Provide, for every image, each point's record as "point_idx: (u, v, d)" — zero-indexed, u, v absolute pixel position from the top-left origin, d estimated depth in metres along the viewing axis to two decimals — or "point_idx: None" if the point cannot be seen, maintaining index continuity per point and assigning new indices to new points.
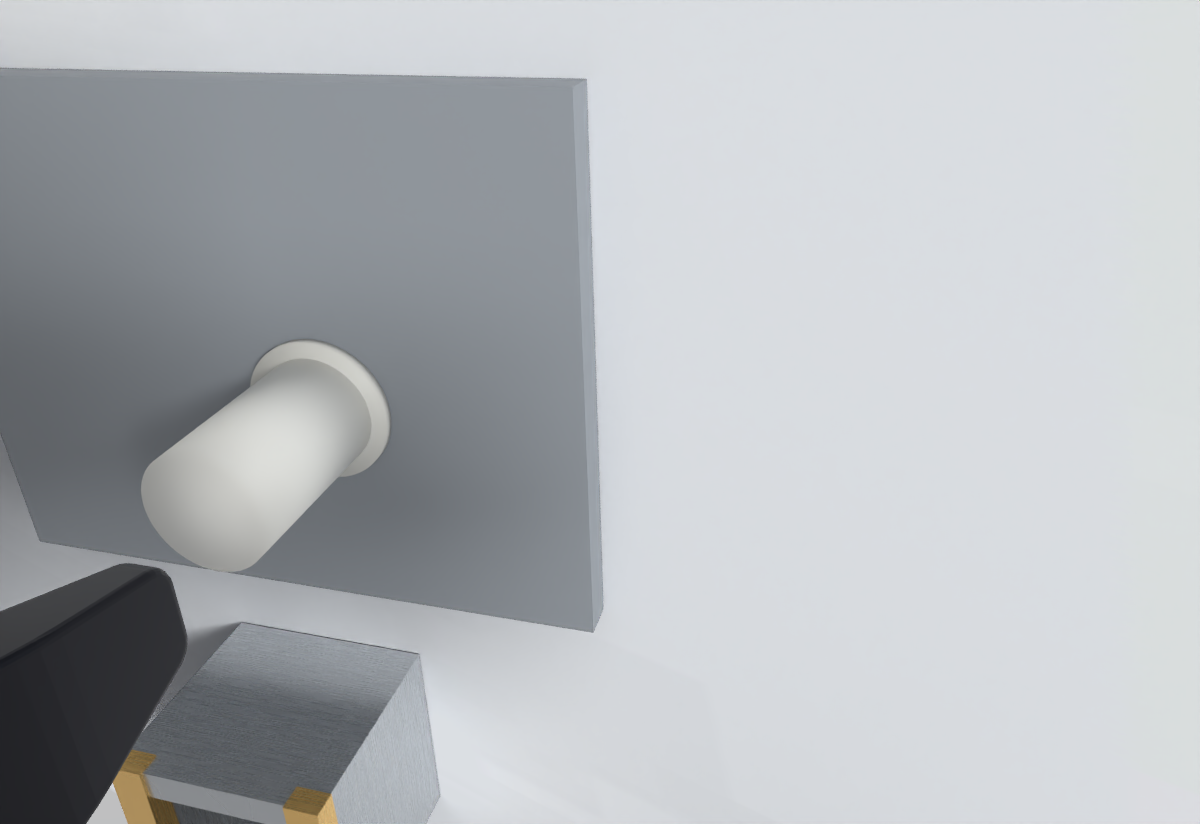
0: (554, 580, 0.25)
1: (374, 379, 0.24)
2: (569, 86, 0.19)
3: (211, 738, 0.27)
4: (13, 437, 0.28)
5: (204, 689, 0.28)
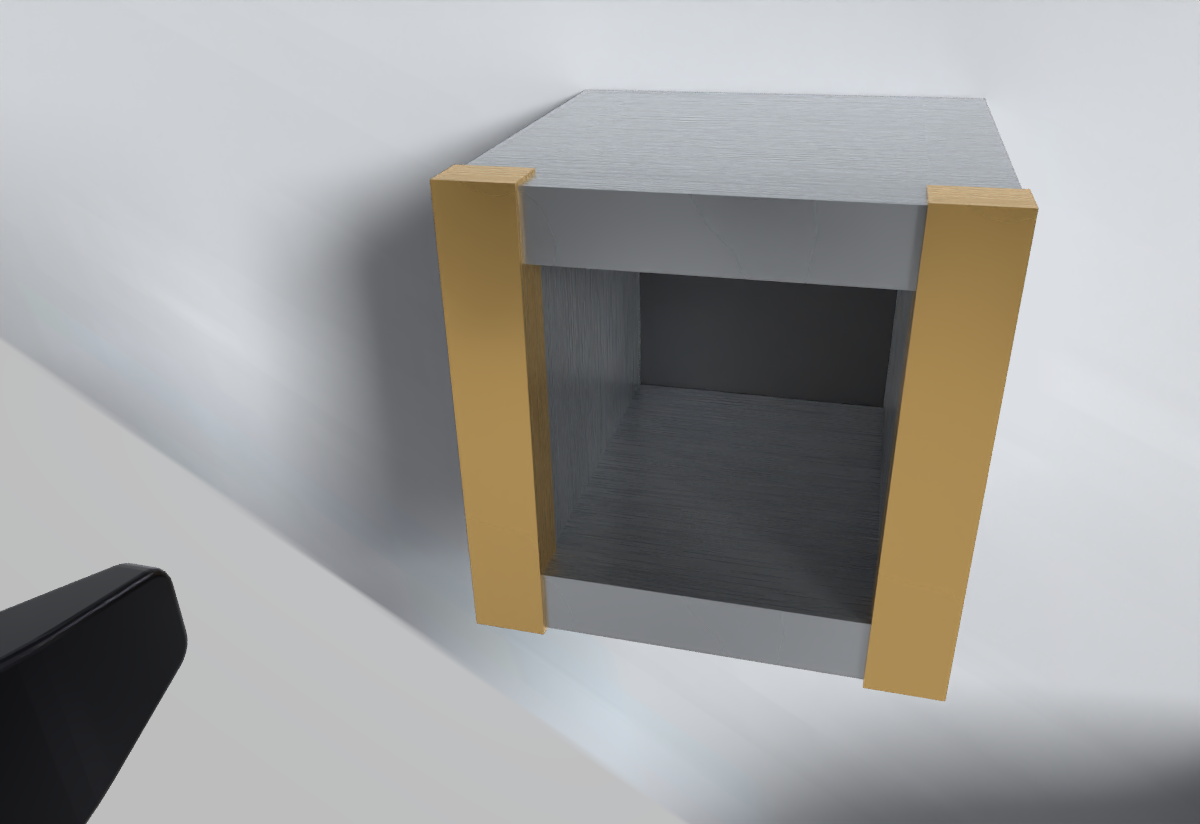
0: None
1: None
2: None
3: (645, 157, 0.12)
4: None
5: (576, 127, 0.13)
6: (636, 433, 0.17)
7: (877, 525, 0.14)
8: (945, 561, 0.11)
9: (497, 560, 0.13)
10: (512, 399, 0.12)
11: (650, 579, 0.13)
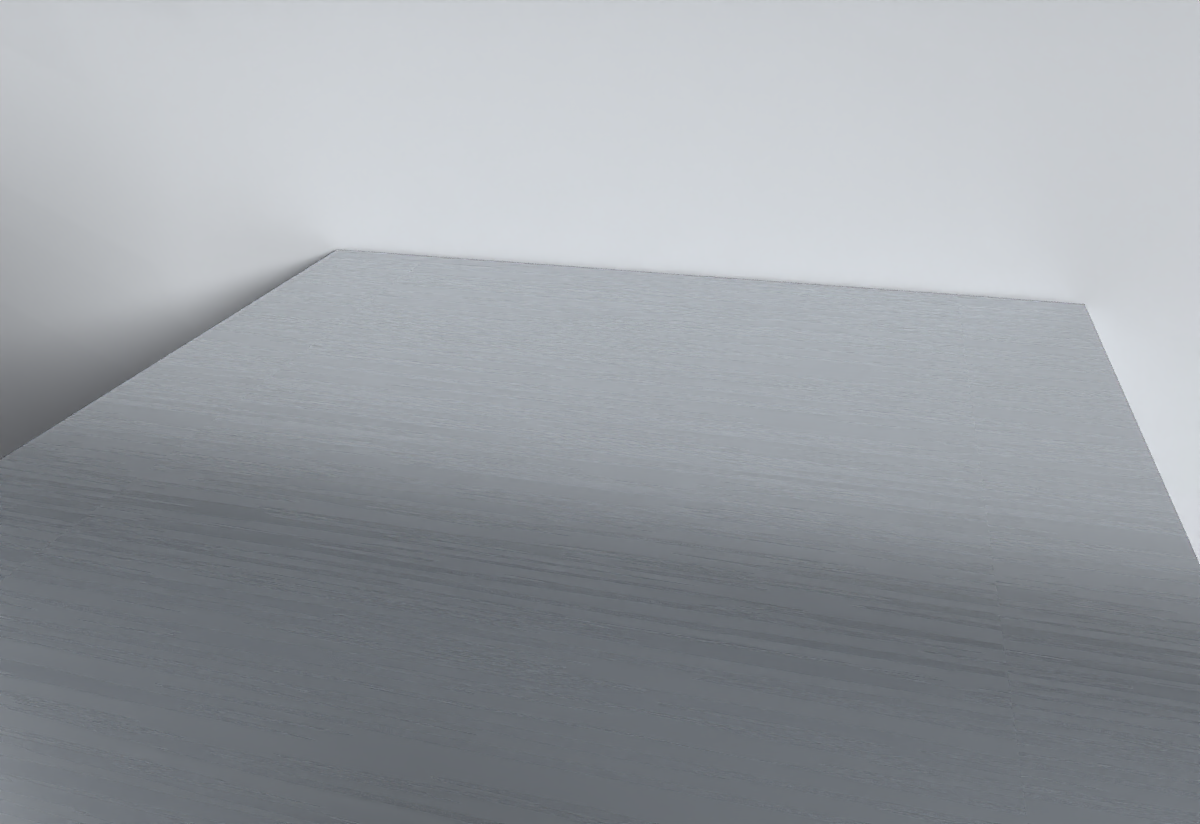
0: None
1: None
2: None
3: (248, 582, 0.04)
4: None
5: (206, 399, 0.06)
6: None
7: None
8: None
9: None
10: None
11: None
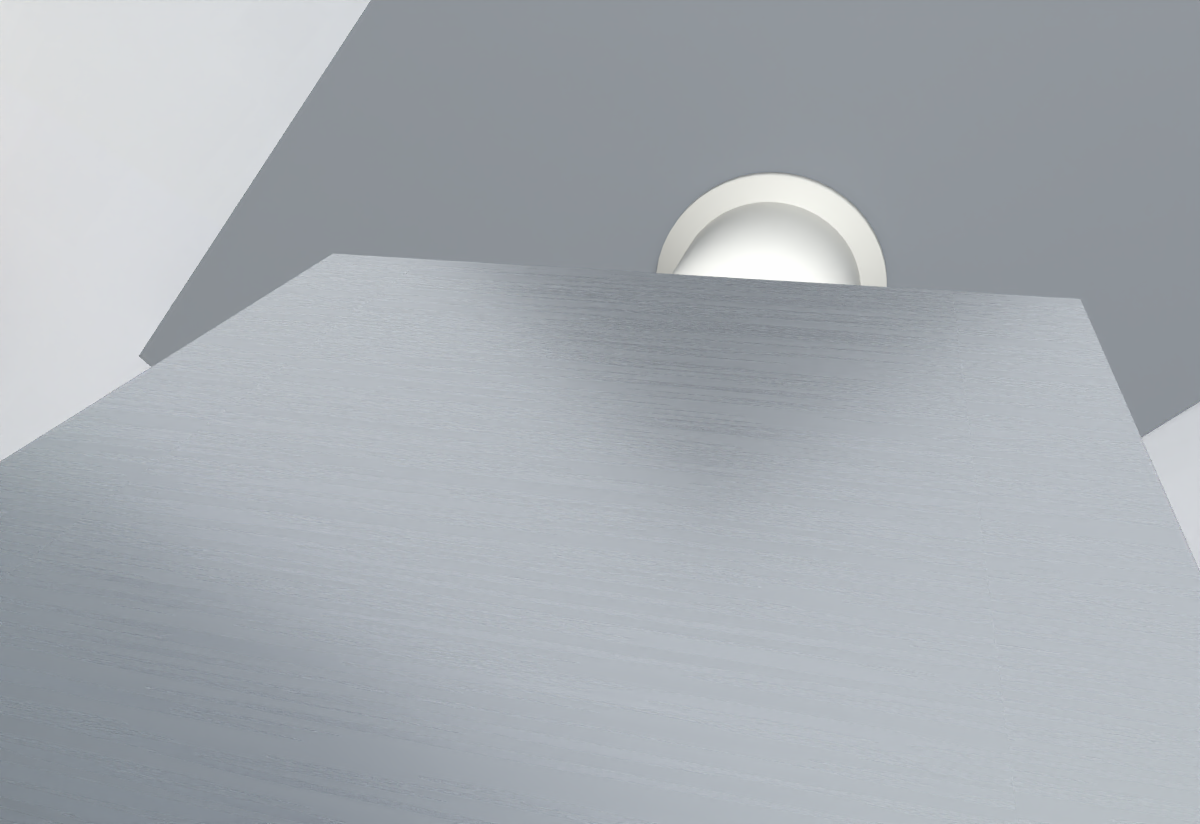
0: None
1: (799, 176, 0.15)
2: None
3: (238, 585, 0.04)
4: None
5: (201, 405, 0.06)
6: None
7: None
8: None
9: None
10: None
11: None
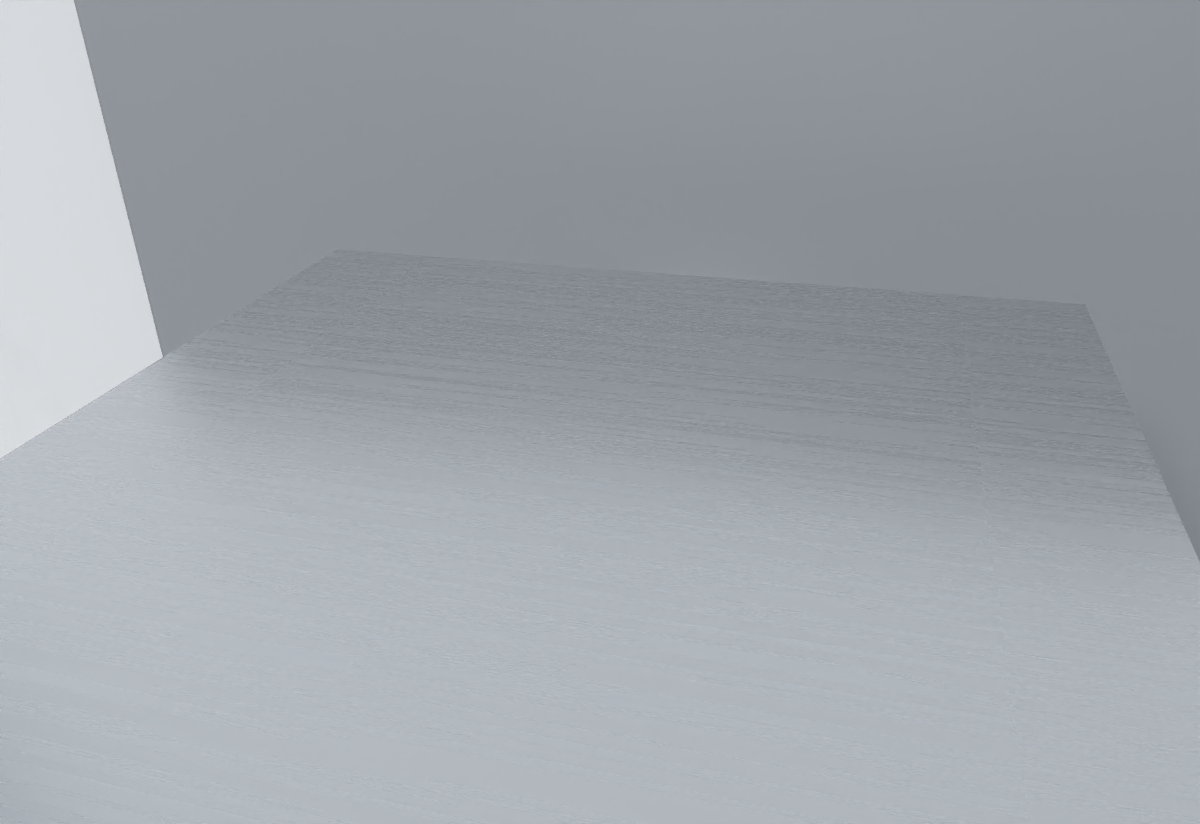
0: None
1: None
2: None
3: (245, 584, 0.04)
4: None
5: (203, 400, 0.06)
6: None
7: None
8: None
9: None
10: None
11: None
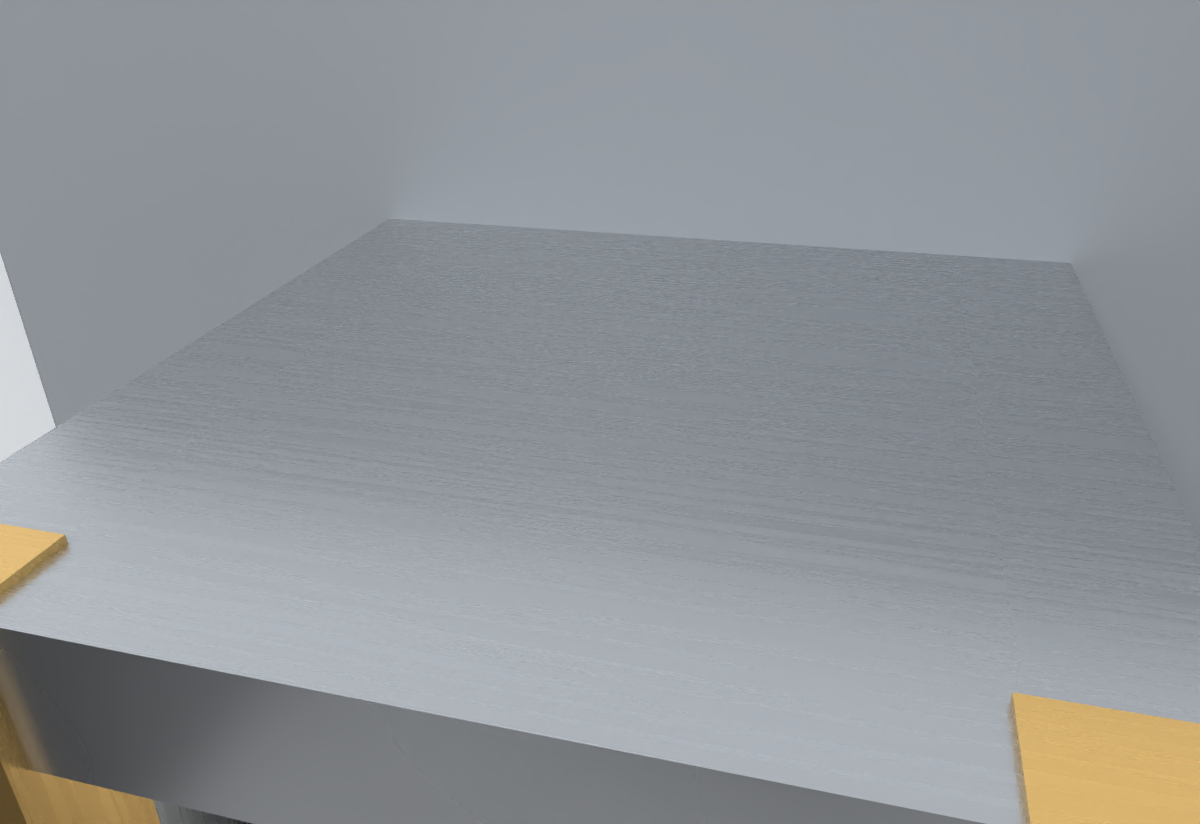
0: None
1: None
2: None
3: (357, 474, 0.05)
4: None
5: (293, 340, 0.07)
6: None
7: None
8: None
9: None
10: None
11: None
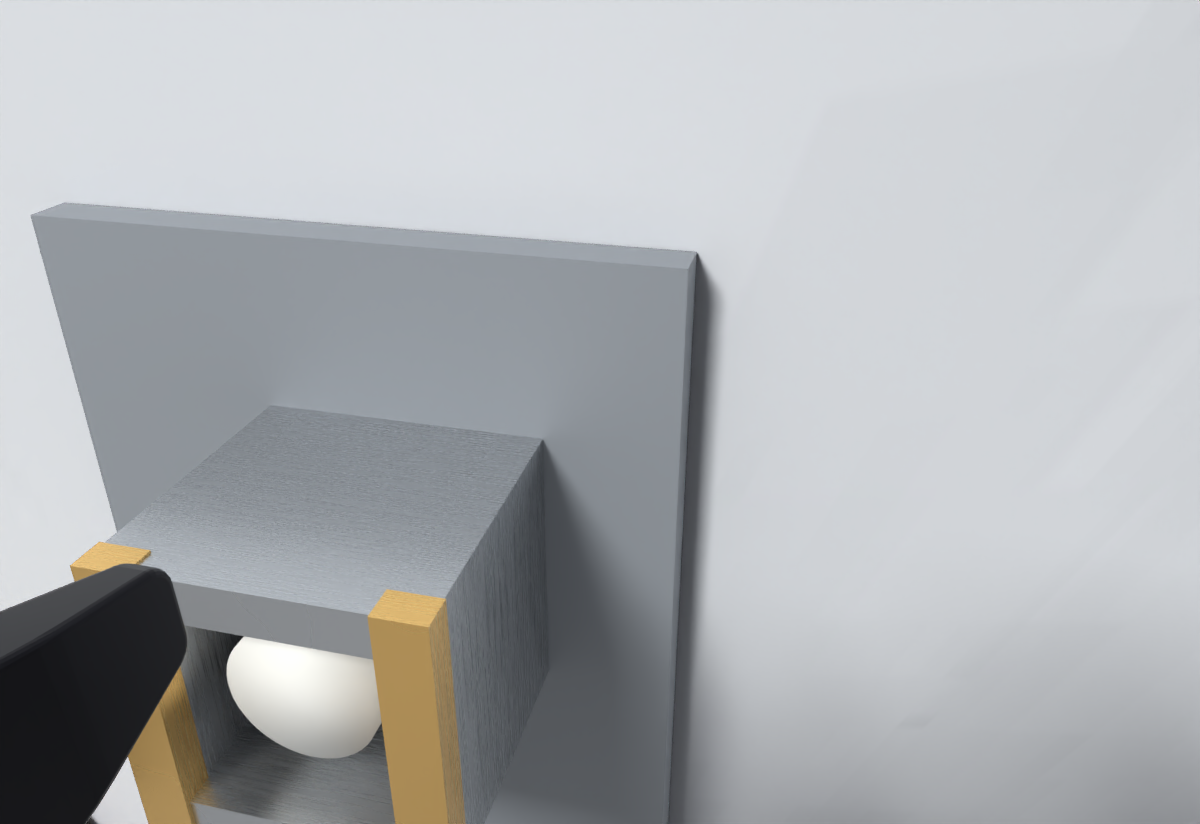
0: (603, 313, 0.18)
1: None
2: (34, 218, 0.21)
3: (238, 531, 0.17)
4: None
5: (222, 476, 0.19)
6: None
7: None
8: (432, 817, 0.17)
9: (156, 791, 0.18)
10: None
11: (265, 806, 0.18)
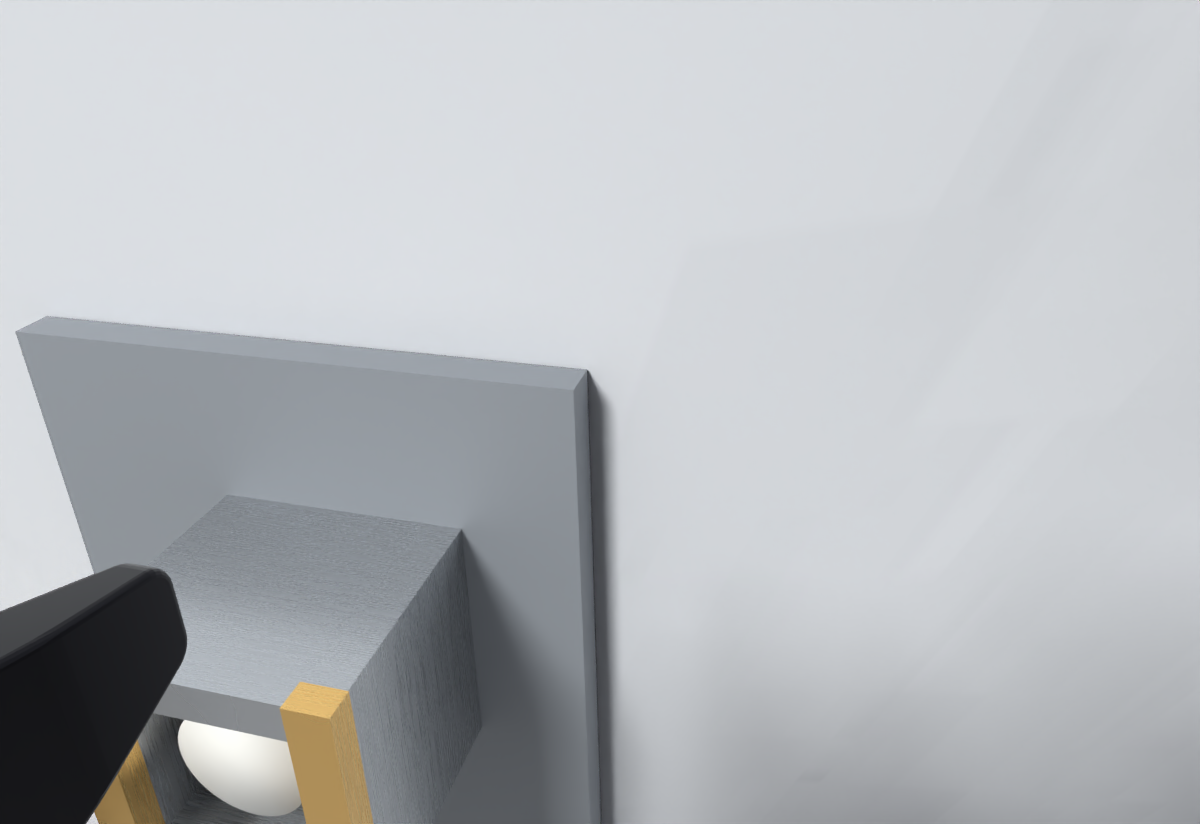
0: (504, 425, 0.21)
1: None
2: (19, 333, 0.23)
3: None
4: None
5: (176, 568, 0.21)
6: None
7: None
8: None
9: None
10: None
11: None
